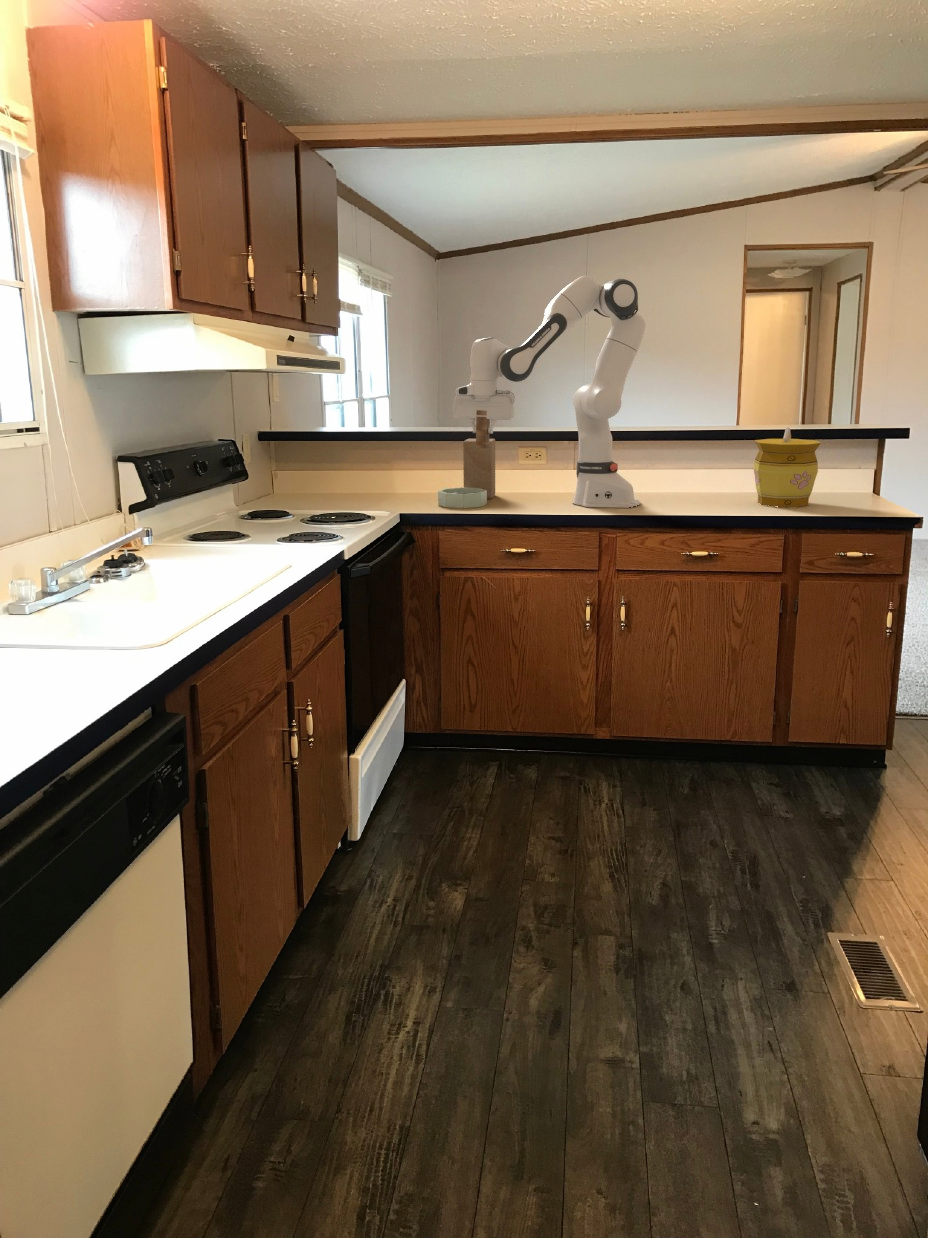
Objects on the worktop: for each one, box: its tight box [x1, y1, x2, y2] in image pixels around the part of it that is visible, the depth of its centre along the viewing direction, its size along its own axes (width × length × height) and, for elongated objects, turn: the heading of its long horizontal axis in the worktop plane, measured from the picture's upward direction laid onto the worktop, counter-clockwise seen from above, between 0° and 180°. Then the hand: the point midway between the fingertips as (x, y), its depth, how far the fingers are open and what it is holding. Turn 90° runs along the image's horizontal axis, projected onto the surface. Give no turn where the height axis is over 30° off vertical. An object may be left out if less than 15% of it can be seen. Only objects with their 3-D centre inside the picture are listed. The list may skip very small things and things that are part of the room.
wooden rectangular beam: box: [475, 410, 491, 448], centre depth 322 cm, size 4×4×12 cm
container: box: [752, 427, 822, 509], centre depth 325 cm, size 21×21×25 cm
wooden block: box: [462, 438, 496, 500], centre depth 348 cm, size 10×10×20 cm
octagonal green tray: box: [437, 486, 488, 509], centre depth 334 cm, size 15×15×5 cm
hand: (482, 433), depth 323 cm, fingers closed on wooden rectangular beam, 3 cm apart
